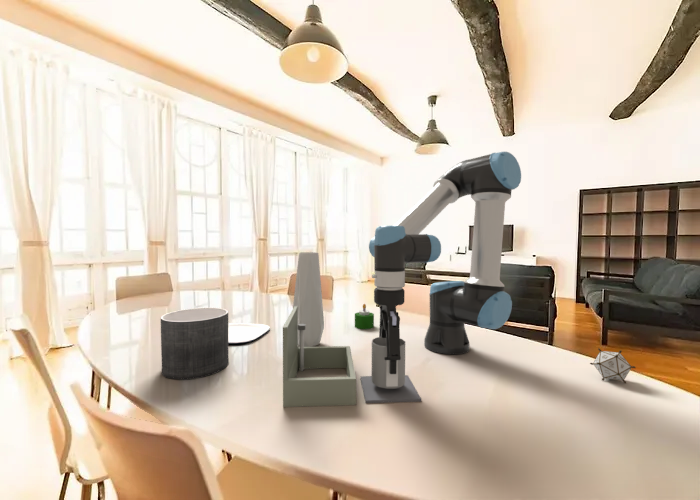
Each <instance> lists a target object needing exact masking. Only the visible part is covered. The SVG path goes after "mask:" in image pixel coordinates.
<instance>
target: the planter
mask: <svg viewBox="0 0 700 500" xmlns="http://www.w3.org/2000/svg"><path fill="white" fill-rule="evenodd" d="M228 323H229V310H228V309H226V308H220V307H196V308H195V307H194V308H187V309H179V310H175V311H171V312H167V313H165V314H163V315H161V316H160V348H161V351H160V352H161V374H162V376H163V377H165V378H167V379H171V380H192V379H199V378H203V377H204V378H205V377H208V376H211V375H213V374H216V373H219V372H220V371H222V370H224V369H225V368H226V367H227V366H228V365H229V363H230V362H229V344H228Z"/></svg>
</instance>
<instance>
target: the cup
mask: <svg viewBox="0 0 700 500" xmlns="http://www.w3.org/2000/svg"><path fill="white" fill-rule="evenodd" d="M393 355H395V354H393ZM400 356H401V358H400V360H398V386H394V387H386V360H384V358H385V357H387V343H386V338H382V337H378V336H377V337H375V338H373V339H372V340H371V376H372V378H371V381H372V382H373V384H374V385H376V386H378V387H381V388H386V389H395V388H399V387H402V386H403V385H404V384H405V375H406V341H405V340H404V339H403V338H400Z"/></svg>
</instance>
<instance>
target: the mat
mask: <svg viewBox="0 0 700 500" xmlns="http://www.w3.org/2000/svg"><path fill="white" fill-rule="evenodd" d="M359 378H360V383H361V387H362V392H363V396H364V397H363V398H364V401H365V404H373V403H374V404H377V403H381V404H382V403H383V404H384V403H410V402H412V403H413V402H415V403H416V402H419V403H420V402H422V397H421V395H420V394H419V392H418V391H417V389H416V387H415V386H414V384H413V382H412V380H411V378H410V376H409V375H407V374H405V384H404V385H403V386H402V387H399V388H395V389H386V388H381V387H378V386H376V385H374V384H373V382H372V381H371V378H372V375H361V376H360V377H359Z"/></svg>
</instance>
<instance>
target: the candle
mask: <svg viewBox="0 0 700 500" xmlns="http://www.w3.org/2000/svg"><path fill="white" fill-rule="evenodd" d="M366 308H367V305H366V304H365V303H364V304H363V305H362V309H361V310H359V312H355V313H354V328H355V329H358V330H371V329H374V328H375V313H373V312H370V310H367V309H366Z"/></svg>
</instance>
